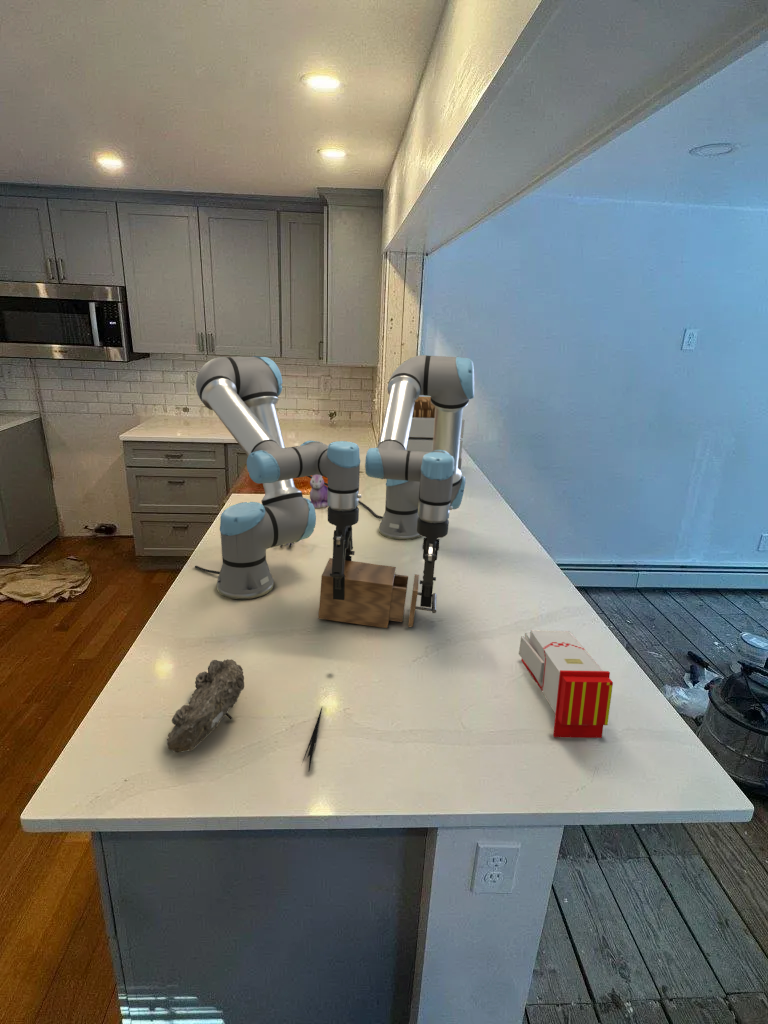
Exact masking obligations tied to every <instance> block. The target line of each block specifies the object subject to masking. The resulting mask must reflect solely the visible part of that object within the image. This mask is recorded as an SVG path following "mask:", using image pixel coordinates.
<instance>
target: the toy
mask: <svg viewBox="0 0 768 1024" xmlns="http://www.w3.org/2000/svg"><path fill="white" fill-rule="evenodd" d="M519 641H520V642H519V650H518V655H519V657H520V658H521V660H520V661H521V662H522V664H523V666H524V667H525V669H526V670H527V671H528V673H529V674H530V676H531V677H532V679H533V680H534V682H535V684H536V685H537V686H538V687H539V689H540V690H541V692H542V694H543V696H544V697H545V699H546V701H547V702H548V705H549V706H550V708H551V709H552V711H553V713H554V723H553V732H552V733H553V734H552V736H553V738H570V739H571V738H572V739H575V738H577V739H578V738H579V739H581V738H583V739H584V738H587V739H602V737H603V732H604V726H608V725H609V716H610V710H611V702H612V693H613V685H614V682H613V681H612V679H611V677H610V675H611V672H610V671H609V670H603V668H601V666H600V665H599V664H598V663H597V661H595V659H594V658H593V657H592V656H591V654H589V652H588V651H587V650H586V648H585V647H584V646H583V645H582V644H581V643H580V642H579V640H578V639H577V638H576V637H575V635H574V634H573V633H572V632H571V631H570V630H538V629H537V630H536V629H535V630H534V629H530V631H525V632H524V636H520V640H519Z"/></svg>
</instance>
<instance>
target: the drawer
mask: <svg viewBox="0 0 768 1024" xmlns="http://www.w3.org/2000/svg"><path fill="white" fill-rule="evenodd" d="M408 582H409V575H405V574H396V573H395V577H394V582H393V589H392V597H391V605H390V613H389V621H392V622H397V623H403V620H404V614H405V606H406V598H407V591H408ZM412 583H413V585H412V592H411V597H410V605H409V615H408V624H407V627H409V628H413V627H414V623H415V622H414V621H415V615H416V610H418V611H425V612H431V613H432V614H436V613H437V610H438V609H437V608H438V607H437V605H438V604H437V601H438V594H437V593H435V592H432V602H431V607H422V606H418V605H417V600H418V596H420V597H421V592H419V585H420V574H416V573H414V577H413V582H412Z"/></svg>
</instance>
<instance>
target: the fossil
mask: <svg viewBox="0 0 768 1024" xmlns="http://www.w3.org/2000/svg"><path fill="white" fill-rule="evenodd" d="M243 670H244V669H243V667H242V665H240V664H237V662H236V661H235V660H234V659H232V658H231V659H227V658H226V659H224V660H223V661H222V660H217V659H212V660H211V661H210V663H209V665H208V666H207V671H201V672H199V673H198V674H197V675H196V676H195V680H194V684H195V685H194V687H195V689H194V690H193V693H192V694H191V697H190V698H189V700H188V704H184V705H182V706H181V707H180V709H177V710H176V711H175V713H174V715H173V716H172V718H171V723H172V724H173V727H172V730H171V731H170V732H168V734H167V738H166V741H167V742H166V745H167V749H168V750H169V751H173V752H174V753H176V754H178V753H182V752H188V751H189V752H192V751H193V750H195V748H196V747H197V746H199V744H200V743H201V742H203V741H204V740H205V739H206V738H207V737H208V736H209V735H210V734H211V733H212V732H214V730H215V729H217V727H218V726H219V724H220V722H221V721H222V720H223V719H224V718H225V716H226V717H227V719H229V720H233V717H232V715H230V714H229V710H230V709H231V708H234V706H235V704H236V703H237V702H238V699H239V697H240V695H241V693H242V691H243V690H245V689H244V688H245V675H244V671H243Z"/></svg>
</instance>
